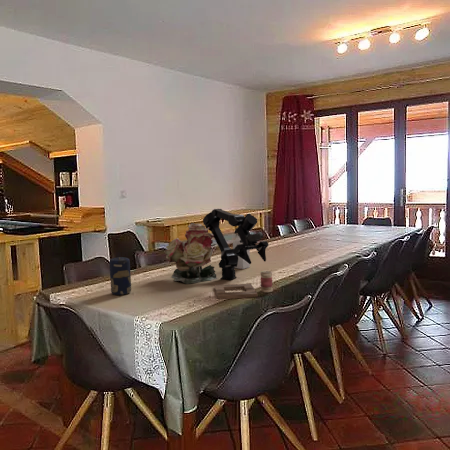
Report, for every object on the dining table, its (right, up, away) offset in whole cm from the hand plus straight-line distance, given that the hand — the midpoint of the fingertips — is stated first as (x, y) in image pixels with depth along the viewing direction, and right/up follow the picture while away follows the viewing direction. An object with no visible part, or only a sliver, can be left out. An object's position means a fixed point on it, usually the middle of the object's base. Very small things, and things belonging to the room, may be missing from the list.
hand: (258, 262), depth 215 cm
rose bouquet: (-33, -11, +25) cm, 43 cm away
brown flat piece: (-11, -13, -7) cm, 19 cm away
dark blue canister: (-66, -15, -3) cm, 67 cm away
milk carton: (-6, -8, +50) cm, 51 cm away
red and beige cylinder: (+4, -13, -6) cm, 15 cm away
